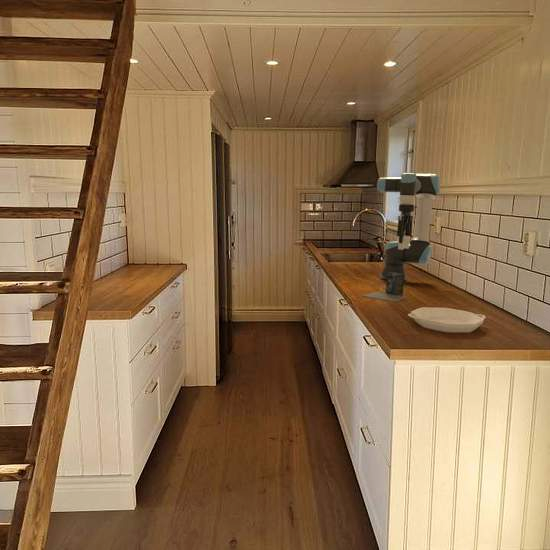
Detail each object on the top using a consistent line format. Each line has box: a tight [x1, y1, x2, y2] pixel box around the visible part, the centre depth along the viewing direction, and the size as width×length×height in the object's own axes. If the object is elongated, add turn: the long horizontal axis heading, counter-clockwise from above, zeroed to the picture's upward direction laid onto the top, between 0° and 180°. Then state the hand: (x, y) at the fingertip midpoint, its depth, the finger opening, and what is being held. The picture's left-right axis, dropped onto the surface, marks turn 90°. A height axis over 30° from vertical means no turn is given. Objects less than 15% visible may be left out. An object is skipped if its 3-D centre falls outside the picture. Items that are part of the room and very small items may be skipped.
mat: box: [362, 291, 408, 303], centre depth 239 cm, size 14×18×1 cm
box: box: [385, 272, 405, 296], centre depth 246 cm, size 8×6×11 cm
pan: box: [407, 307, 487, 334], centre depth 189 cm, size 31×26×4 cm
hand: (403, 248), depth 250 cm, fingers open, 6 cm apart
